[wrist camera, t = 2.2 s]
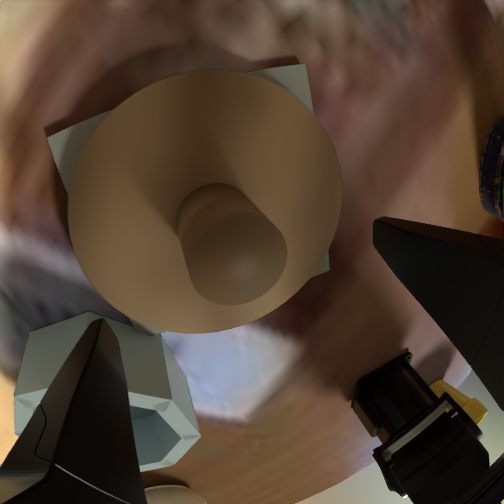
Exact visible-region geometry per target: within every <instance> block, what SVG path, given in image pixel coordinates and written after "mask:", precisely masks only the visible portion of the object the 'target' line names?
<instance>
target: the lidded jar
mask: <svg viewBox="0 0 504 504" xmlns="http://www.w3.org/2000/svg"><path fill="white" fill-rule="evenodd" d="M144 491H145V495H146V499H147V503H148V504H208V503H207V502H206V501H205V500H204V499H203V498H202V497H200V496H199V495H197V494H196V493H194V492H192V491H190V490H189V488H188V487H185V486H182V485H158V486H152V487H148V488H145V489H144Z"/></svg>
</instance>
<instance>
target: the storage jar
mask: <svg viewBox="0 0 504 504" xmlns="http://www.w3.org/2000/svg"><path fill="white" fill-rule="evenodd" d="M479 192H480V199H481V202H482V205H483V207H484V209H485V210H486V211H487V212H488V213H490V214H492V215H495V216H498V217H499V218H500V219H501V220H503V221H504V113H503V114H501V115H500V116H499V117H498V118H497V119H496V120H495V122H494V124H493V125H492V127H491V129H490V132H489V134H488V137H487V139H486V143H485V146H484V150H483V155H482V160H481V166H480V175H479Z"/></svg>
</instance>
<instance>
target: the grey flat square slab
mask: <svg viewBox="0 0 504 504" xmlns="http://www.w3.org/2000/svg"><path fill="white" fill-rule="evenodd" d="M245 73H247V74H250V75H254V76H258V77H261V78H263V79H266V80H268V81H270V82H272V83H275V84H277V85H279V86H281V87H282V88H284V89H285V90H287V91H288V92H290V93H292V94H293V95H295V96H296V97H297V98H298V99H299V100H300V101H302V102H303V103H304V104H305V105H306V106H307V107H308V108H309V109H310V110H311V111H312V112H313V106H312V100H311V93H310V87H309V81H308V76H307V70H306V65H305V64H298V65H290V66H282V67H275V68H269V69H262V70H256V71H250V72H245ZM113 110H114V109H112V110H109V111H107V112H104V113H102V114H99V115H97V116H94V117H92V118H89V119H87V120H85V121H82V122H80V123H78V124H75V125H73V126H71V127H69V128H66V129H64V130H62V131H60V132H58V133H56V134H54V135H52V136H49V137H47V139H48V142H49V145H50V148H51V151H52V154H53V157H54V160H55V163H56V165H57V168H58V171H59V174H60V176H61V179H62V181H63V184H64V187H65V189H66V192H67V194H68V197H69V191H70V186H71V181H72V177H73V174H74V171H75V168H76V165H77V162H78V159H79V157H80V155H81V153H82V151H83V149H84V147H85V146H86V144H87V142H88V140H89V139H90V137H91V136H92V134H93V133H94V132H95V130H96V129H97V128H98V126H99V125H100V124H101V122H102V121H103V120H104V119H105V118H106V117H107V116H108V115H109V114H110V113H111V112H112V111H113ZM313 114H314V112H313ZM329 270H330V267H329V251H327V253H326V255H325V257H324V259H323V260H322V262H321V263H320V265H319V267H318V268H317V270H316V271H315V272H314V273H313V275H312V276H311V277H310V278H312V277H314V276H317V275H319V274H322V273H324V272H327V271H329ZM128 318H129V320H130V321H131V323H132V325H133V326H134V328H135V330H136V331H137V332H138V333H141V334H145V335H148V336H153V335H156V334H159V333H162V332H165V330H161V329H156V328H153V327H150V326H148V325H145V324H142V323H140V322H138V321H136V320H134V319H132V318H130V317H128Z"/></svg>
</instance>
